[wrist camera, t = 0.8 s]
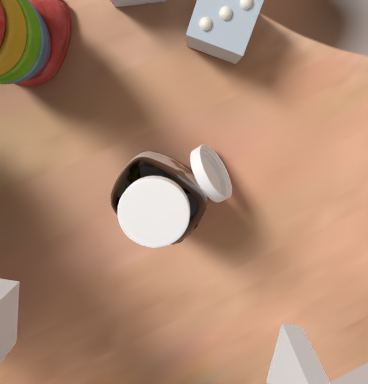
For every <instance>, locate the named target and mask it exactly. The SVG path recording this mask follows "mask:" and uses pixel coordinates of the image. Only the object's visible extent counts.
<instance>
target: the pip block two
mask: <svg viewBox="0 0 368 384" xmlns="http://www.w3.org/2000/svg"><path fill="white" fill-rule="evenodd" d="M110 1H111V2H112V4H113V5H114V6H115V7H122V6H130V5H138V4H147V3H155V2H164V1H168V0H110Z"/></svg>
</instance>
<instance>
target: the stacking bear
mask: <svg viewBox="0 0 368 384" xmlns="http://www.w3.org/2000/svg"><path fill="white" fill-rule="evenodd" d="M69 40H70V14H69V9H68V6H67V4H66V3H64V2H62V0H0V84H12V83H15V84H18V85H22V86H36V85H40V84H43V83H45V82H47V81H48V80H50V79H51V78H52V77H53V76H54V75H55V74H56V73H57V71H58V69H59V68H60V66H61V64H62V62H63V60H64V58H65V55H66V52H67V49H68V45H69Z"/></svg>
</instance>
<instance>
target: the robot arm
mask: <svg viewBox="0 0 368 384" xmlns="http://www.w3.org/2000/svg"><path fill="white" fill-rule="evenodd" d="M18 303H19V281H13V280H7V279H0V364H1V363H2V361H3V360H4V359H5V357H6V356H7V355H8V353H9V352H10V351H11V349H12V348H13V347H14V345H15V344H16V343H17V325H18ZM266 382H267V384H331V383H330V381H329V379H328V377H327V375H326V373H325V371H324V369H323V367H322V365H321V363H320V361H319V359H318V357H317V356H316V354H315V352H314V350H313V348H312V346H311V344H310V342H309V340H308V338H307V336H306V334H305V332H304V330H303V328H302V326H297V325H291V324H284V323H282V326H281V329H280V333H279V337H278V340H277V344H276V348H275V351H274V355H273V359H272V362H271V366H270V370H269V373H268V377H267V381H266Z"/></svg>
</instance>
